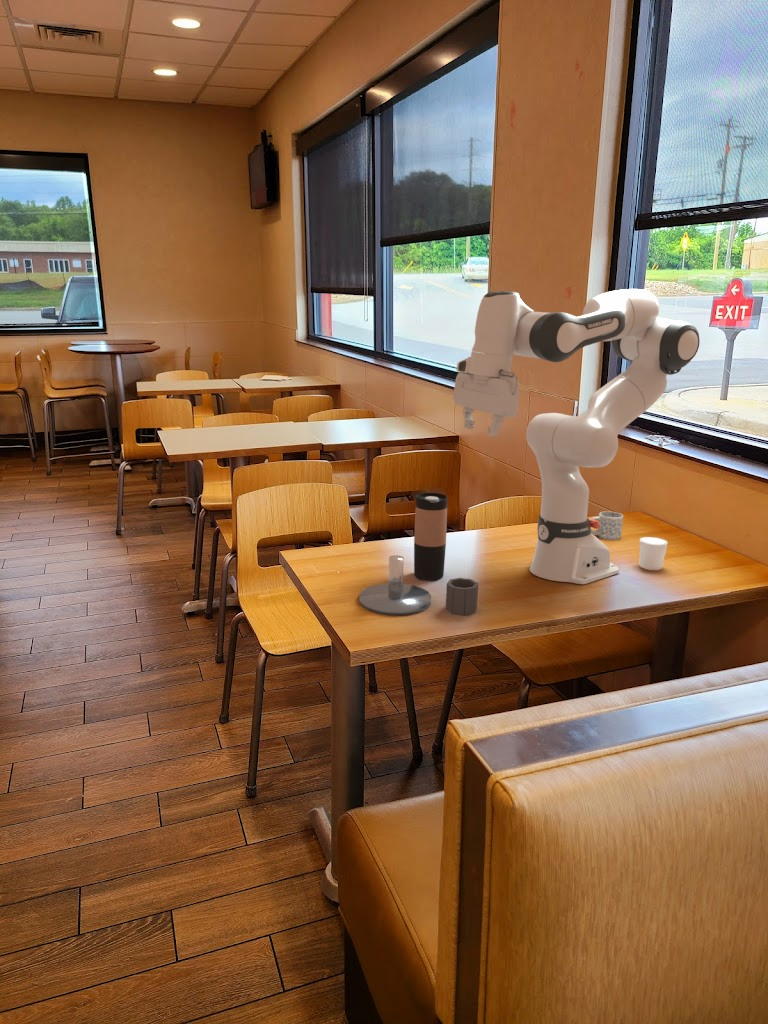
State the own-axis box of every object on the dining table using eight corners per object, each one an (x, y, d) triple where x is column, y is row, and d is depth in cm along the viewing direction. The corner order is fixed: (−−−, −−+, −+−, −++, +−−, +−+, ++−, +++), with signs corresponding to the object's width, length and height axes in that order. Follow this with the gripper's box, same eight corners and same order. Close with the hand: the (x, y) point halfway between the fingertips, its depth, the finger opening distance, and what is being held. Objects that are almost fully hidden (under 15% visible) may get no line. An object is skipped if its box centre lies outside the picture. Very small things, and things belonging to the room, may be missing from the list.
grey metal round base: (409, 584, 179) (410, 542, 176) (444, 608, 165) (446, 564, 162) (347, 594, 172) (348, 551, 169) (379, 620, 158) (380, 574, 155)
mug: (615, 533, 222) (618, 511, 221) (624, 540, 216) (626, 517, 214) (582, 533, 222) (584, 511, 220) (590, 540, 215) (592, 517, 214)
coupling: (465, 601, 169) (467, 576, 167) (481, 612, 163) (483, 586, 162) (441, 606, 166) (442, 580, 164) (456, 617, 160) (458, 590, 159)
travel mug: (425, 568, 189) (428, 490, 184) (450, 575, 185) (454, 496, 179) (406, 576, 184) (409, 496, 178) (432, 583, 179) (435, 502, 174)
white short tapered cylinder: (655, 572, 190) (658, 546, 188) (631, 565, 195) (634, 539, 193) (669, 567, 194) (673, 541, 192) (646, 560, 199) (649, 534, 197)
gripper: (531, 374, 155) (520, 440, 158) (476, 365, 172) (467, 425, 176) (506, 371, 152) (495, 439, 155) (453, 362, 170) (444, 423, 173)
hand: (480, 431), depth 165 cm, fingers open, 8 cm apart
